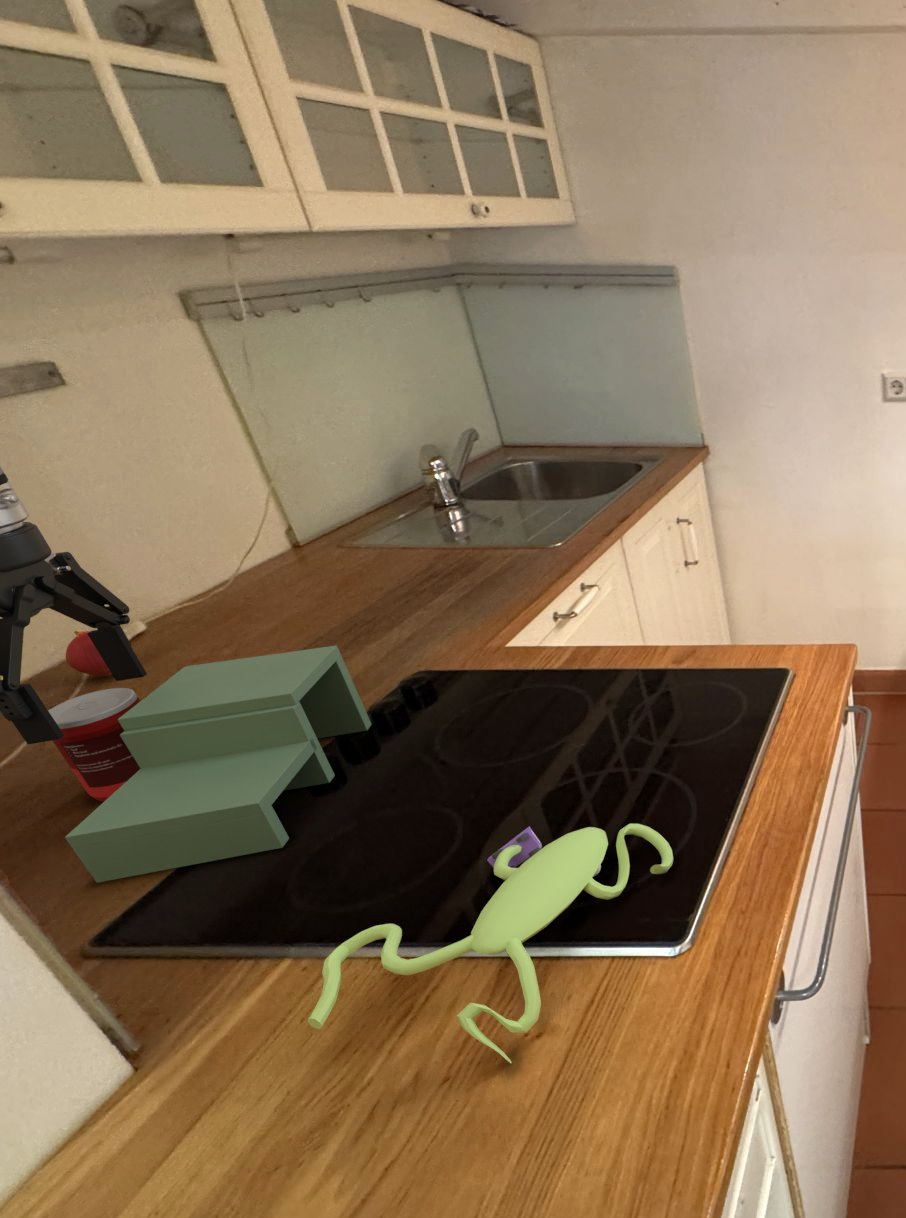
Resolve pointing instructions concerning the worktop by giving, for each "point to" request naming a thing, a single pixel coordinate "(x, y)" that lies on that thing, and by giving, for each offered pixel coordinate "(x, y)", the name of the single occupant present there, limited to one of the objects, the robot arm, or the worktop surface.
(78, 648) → the onion
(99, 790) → the canned food
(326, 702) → the step rack
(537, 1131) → the worktop surface
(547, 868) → the figurine
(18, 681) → the robot arm
